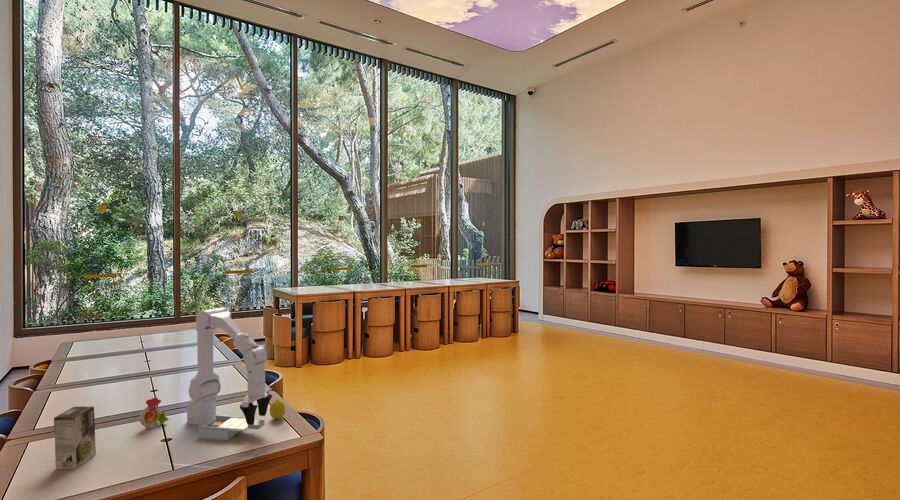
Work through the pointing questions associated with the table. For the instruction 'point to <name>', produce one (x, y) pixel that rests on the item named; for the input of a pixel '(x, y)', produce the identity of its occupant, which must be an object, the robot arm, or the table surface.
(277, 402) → the lemon
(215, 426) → the block
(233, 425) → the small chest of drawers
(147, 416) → the bird rattle
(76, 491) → the table surface
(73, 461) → the coffee box
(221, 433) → the tub
